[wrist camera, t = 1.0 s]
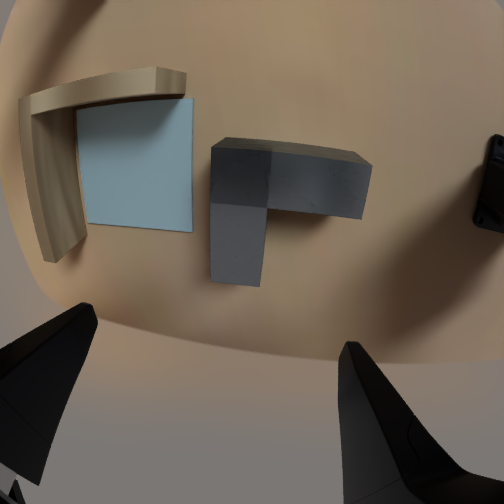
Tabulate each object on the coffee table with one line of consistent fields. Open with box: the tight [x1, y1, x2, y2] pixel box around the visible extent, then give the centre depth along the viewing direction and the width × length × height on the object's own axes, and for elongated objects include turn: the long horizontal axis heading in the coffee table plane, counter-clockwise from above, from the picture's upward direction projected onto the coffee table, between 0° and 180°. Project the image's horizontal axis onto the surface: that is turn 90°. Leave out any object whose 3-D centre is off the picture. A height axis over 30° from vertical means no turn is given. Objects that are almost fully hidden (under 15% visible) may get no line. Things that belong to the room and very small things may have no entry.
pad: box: [77, 99, 194, 232], centre depth 16 cm, size 8×8×1 cm
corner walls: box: [19, 67, 186, 263], centre depth 14 cm, size 9×11×4 cm
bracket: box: [210, 137, 372, 287], centre depth 15 cm, size 7×7×4 cm
